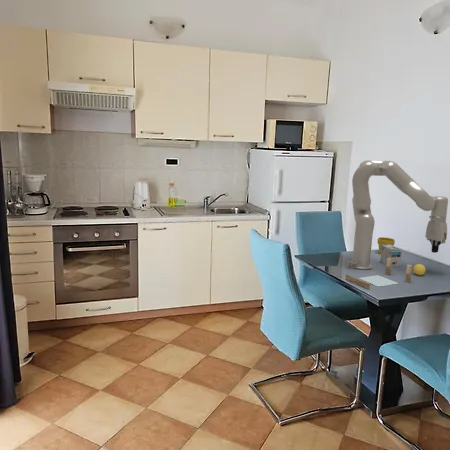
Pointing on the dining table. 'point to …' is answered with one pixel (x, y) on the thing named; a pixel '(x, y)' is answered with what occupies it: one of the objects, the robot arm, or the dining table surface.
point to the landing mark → (378, 280)
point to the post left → (388, 266)
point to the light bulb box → (391, 255)
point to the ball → (419, 269)
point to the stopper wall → (358, 281)
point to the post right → (408, 273)
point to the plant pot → (385, 242)
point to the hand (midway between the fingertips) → (434, 252)
